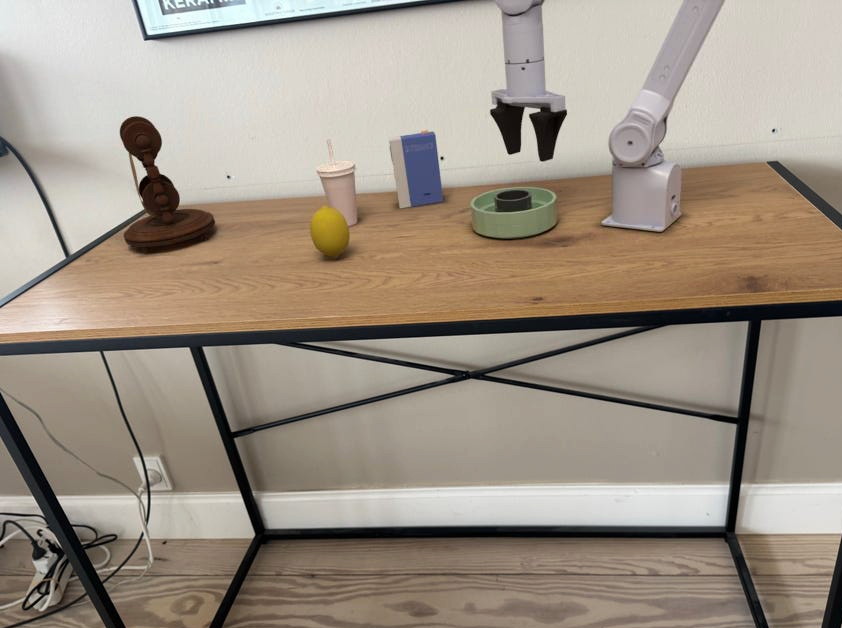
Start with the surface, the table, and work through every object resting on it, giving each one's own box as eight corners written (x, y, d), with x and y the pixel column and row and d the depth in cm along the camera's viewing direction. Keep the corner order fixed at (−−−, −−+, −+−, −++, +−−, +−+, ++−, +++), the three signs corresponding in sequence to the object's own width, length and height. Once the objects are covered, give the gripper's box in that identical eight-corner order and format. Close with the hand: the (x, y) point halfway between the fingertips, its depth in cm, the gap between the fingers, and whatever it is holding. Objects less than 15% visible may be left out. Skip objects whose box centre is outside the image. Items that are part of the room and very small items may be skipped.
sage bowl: (572, 217, 109) (571, 190, 107) (529, 245, 100) (528, 217, 98) (501, 209, 116) (500, 184, 114) (456, 235, 107) (453, 208, 105)
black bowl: (539, 218, 108) (538, 190, 106) (520, 230, 104) (518, 202, 102) (509, 215, 111) (507, 188, 109) (489, 226, 107) (487, 198, 105)
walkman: (441, 197, 125) (433, 129, 119) (443, 202, 123) (435, 132, 117) (398, 204, 124) (387, 135, 118) (399, 208, 122) (388, 138, 116)
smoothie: (320, 228, 116) (302, 143, 110) (340, 216, 121) (324, 134, 115) (353, 230, 114) (336, 143, 107) (372, 217, 119) (357, 133, 112)
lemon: (360, 251, 105) (350, 199, 101) (342, 266, 100) (331, 212, 96) (328, 250, 107) (317, 199, 103) (309, 264, 102) (297, 212, 98)
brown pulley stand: (125, 238, 123) (83, 121, 113) (210, 219, 128) (176, 105, 118) (131, 262, 111) (85, 134, 101) (224, 240, 116) (188, 116, 106)
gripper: (472, 63, 103) (480, 156, 110) (536, 67, 93) (541, 169, 99) (509, 56, 107) (515, 146, 113) (575, 59, 96) (577, 158, 103)
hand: (529, 156), depth 107 cm, fingers open, 7 cm apart
